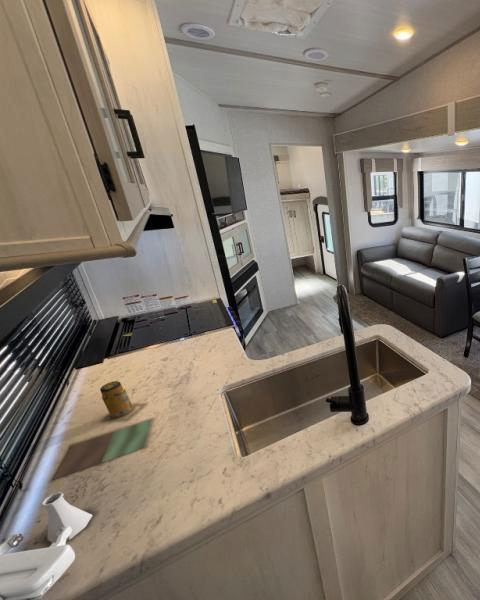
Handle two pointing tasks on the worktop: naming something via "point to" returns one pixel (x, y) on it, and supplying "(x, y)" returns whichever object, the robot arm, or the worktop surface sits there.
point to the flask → (63, 516)
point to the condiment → (116, 399)
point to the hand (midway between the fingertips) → (43, 532)
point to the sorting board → (104, 448)
